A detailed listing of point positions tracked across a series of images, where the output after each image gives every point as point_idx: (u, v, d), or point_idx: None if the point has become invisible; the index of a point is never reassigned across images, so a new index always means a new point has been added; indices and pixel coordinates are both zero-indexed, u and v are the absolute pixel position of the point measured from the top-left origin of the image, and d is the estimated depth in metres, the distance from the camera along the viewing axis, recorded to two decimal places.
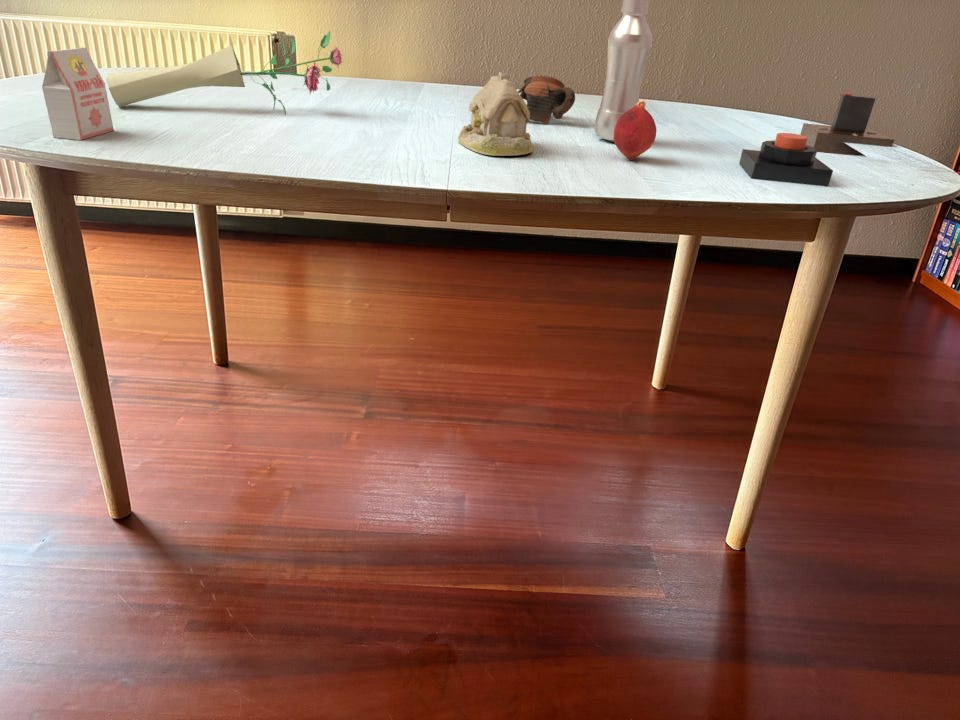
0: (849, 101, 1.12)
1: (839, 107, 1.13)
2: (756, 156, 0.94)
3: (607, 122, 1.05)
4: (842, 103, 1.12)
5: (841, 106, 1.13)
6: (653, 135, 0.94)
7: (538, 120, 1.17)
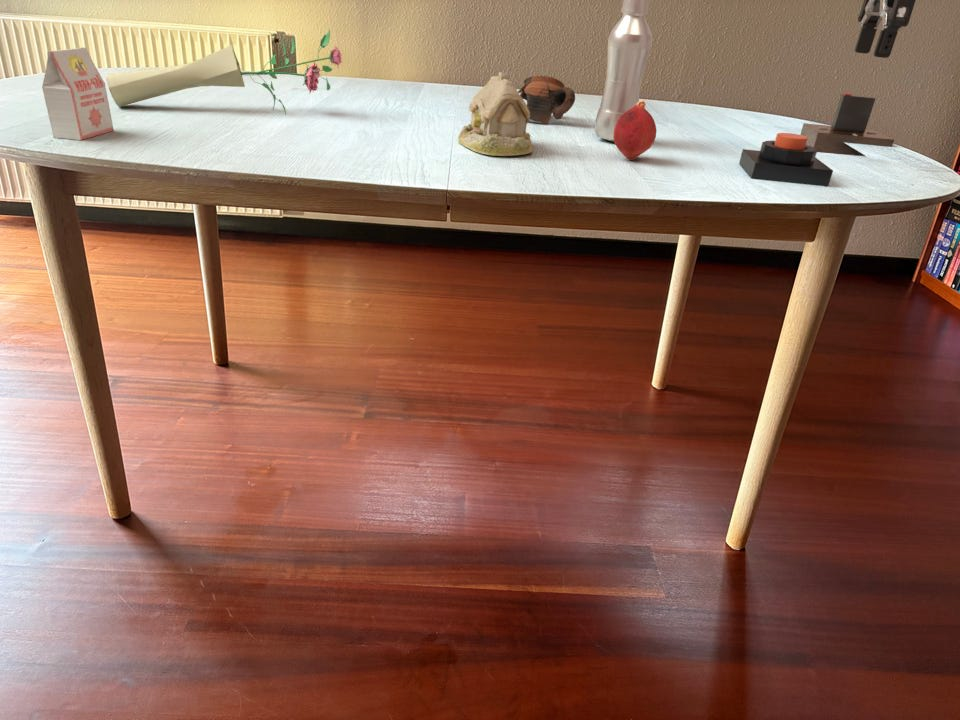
0: (849, 101, 1.12)
1: (839, 107, 1.13)
2: (756, 156, 0.94)
3: (607, 122, 1.05)
4: (842, 103, 1.12)
5: (841, 106, 1.13)
6: (653, 135, 0.94)
7: (538, 120, 1.17)
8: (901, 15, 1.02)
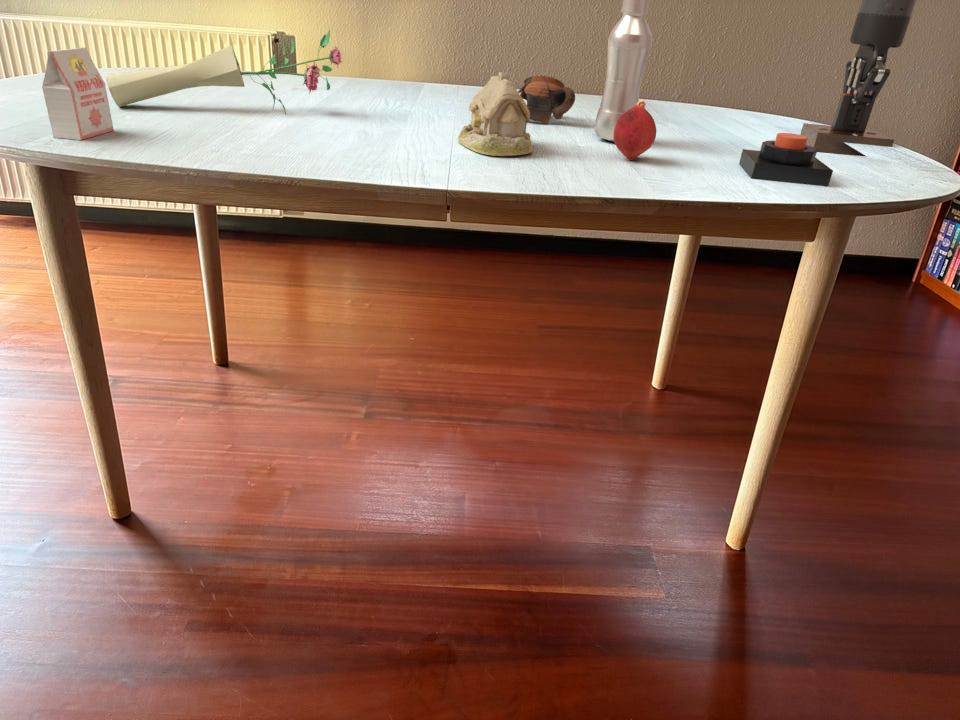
0: (849, 101, 1.12)
1: (839, 107, 1.13)
2: (756, 156, 0.94)
3: (607, 122, 1.05)
4: (842, 103, 1.12)
5: (841, 106, 1.13)
6: (653, 135, 0.94)
7: (538, 120, 1.17)
8: (870, 93, 1.10)
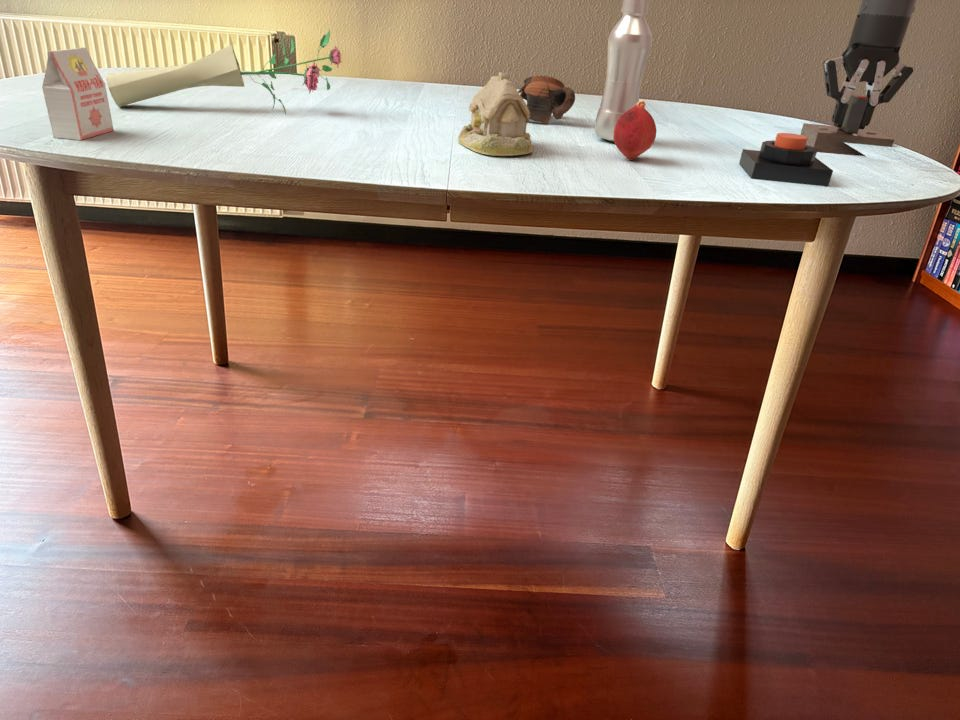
0: None
1: (861, 111, 1.11)
2: (756, 156, 0.94)
3: (607, 122, 1.05)
4: (865, 106, 1.11)
5: (864, 109, 1.11)
6: (653, 135, 0.94)
7: (538, 120, 1.17)
8: None
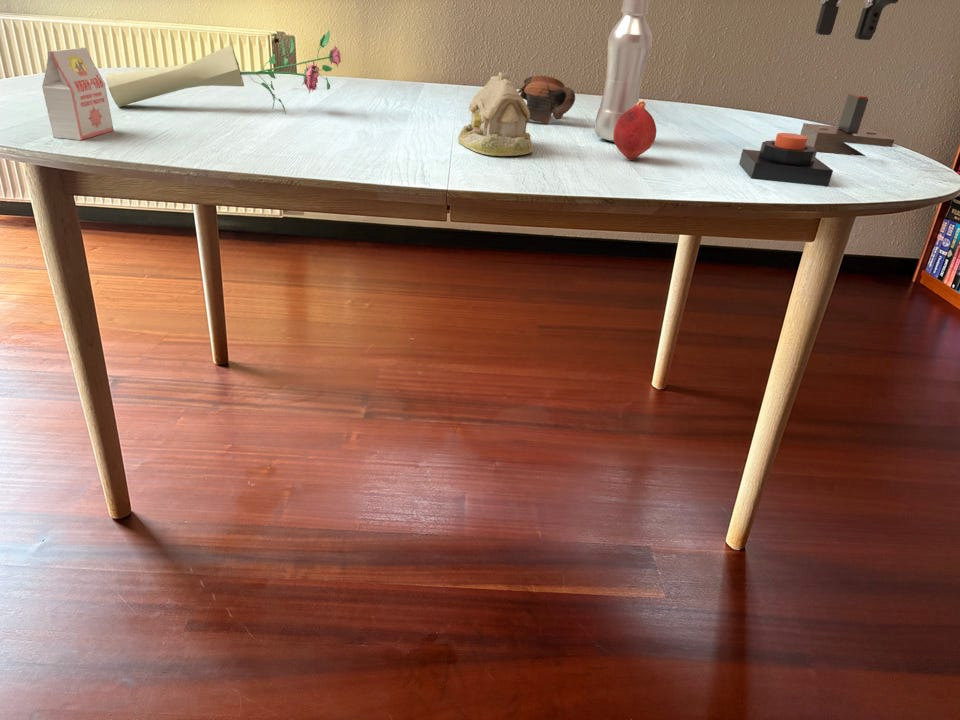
0: None
1: (861, 111, 1.11)
2: (756, 156, 0.94)
3: (607, 122, 1.05)
4: (865, 106, 1.11)
5: (864, 109, 1.11)
6: (653, 135, 0.94)
7: (538, 120, 1.17)
8: None
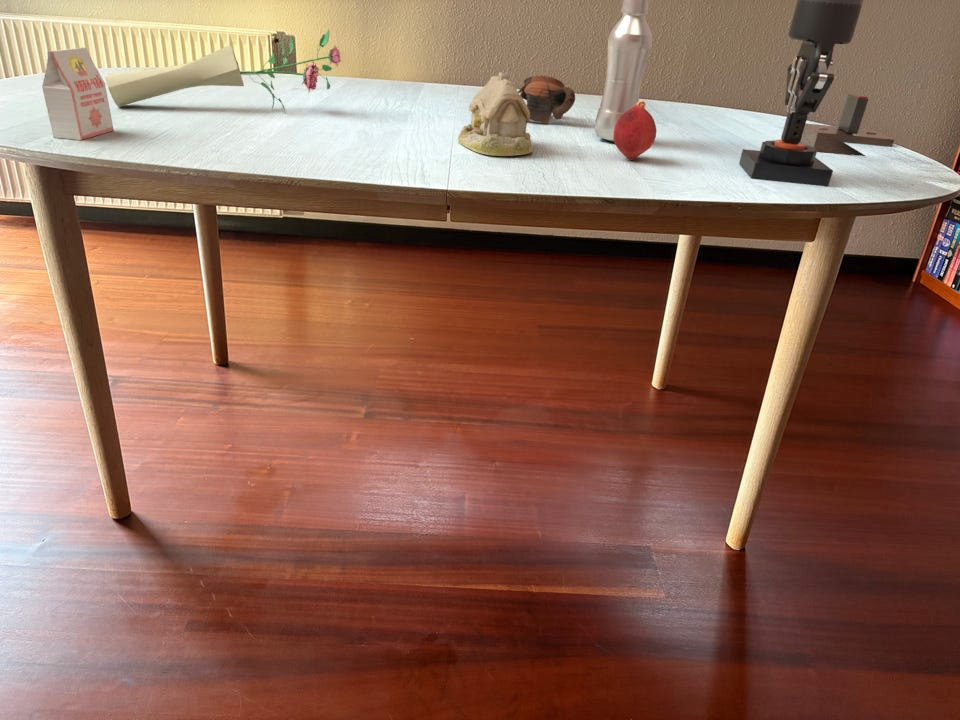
0: None
1: (861, 111, 1.11)
2: (756, 156, 0.94)
3: (607, 122, 1.05)
4: (865, 106, 1.11)
5: (864, 109, 1.11)
6: (653, 135, 0.94)
7: (538, 120, 1.17)
8: (812, 100, 0.89)
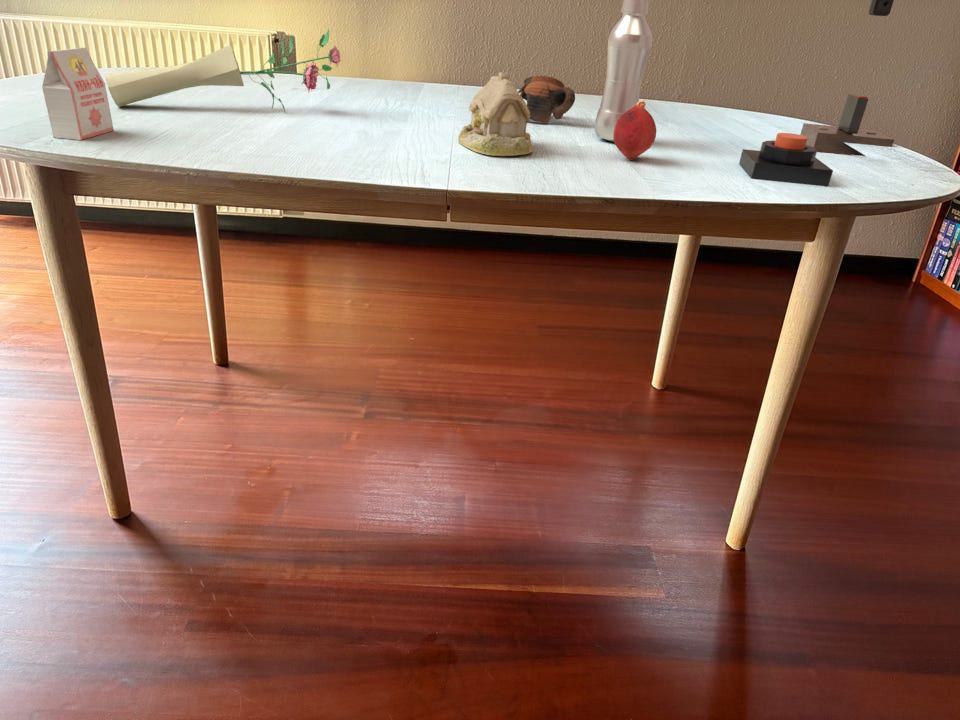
0: None
1: (861, 111, 1.11)
2: (756, 156, 0.94)
3: (607, 122, 1.05)
4: (865, 106, 1.11)
5: (864, 109, 1.11)
6: (653, 135, 0.94)
7: (538, 120, 1.17)
8: None
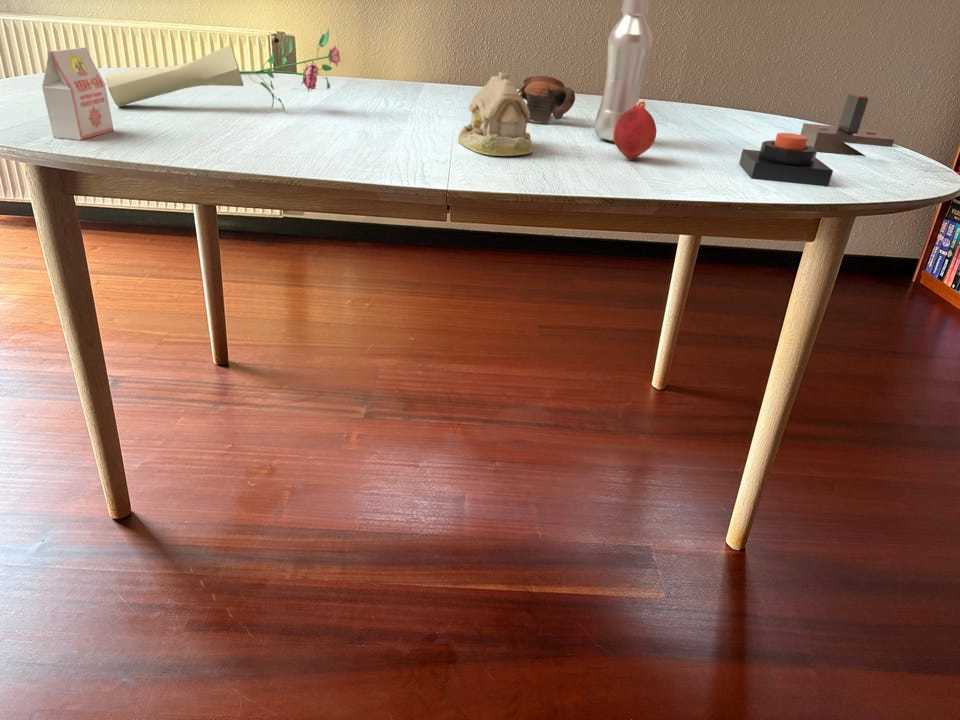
0: None
1: (861, 111, 1.11)
2: (756, 156, 0.94)
3: (607, 122, 1.05)
4: (865, 106, 1.11)
5: (864, 109, 1.11)
6: (653, 135, 0.94)
7: (538, 120, 1.17)
8: None
